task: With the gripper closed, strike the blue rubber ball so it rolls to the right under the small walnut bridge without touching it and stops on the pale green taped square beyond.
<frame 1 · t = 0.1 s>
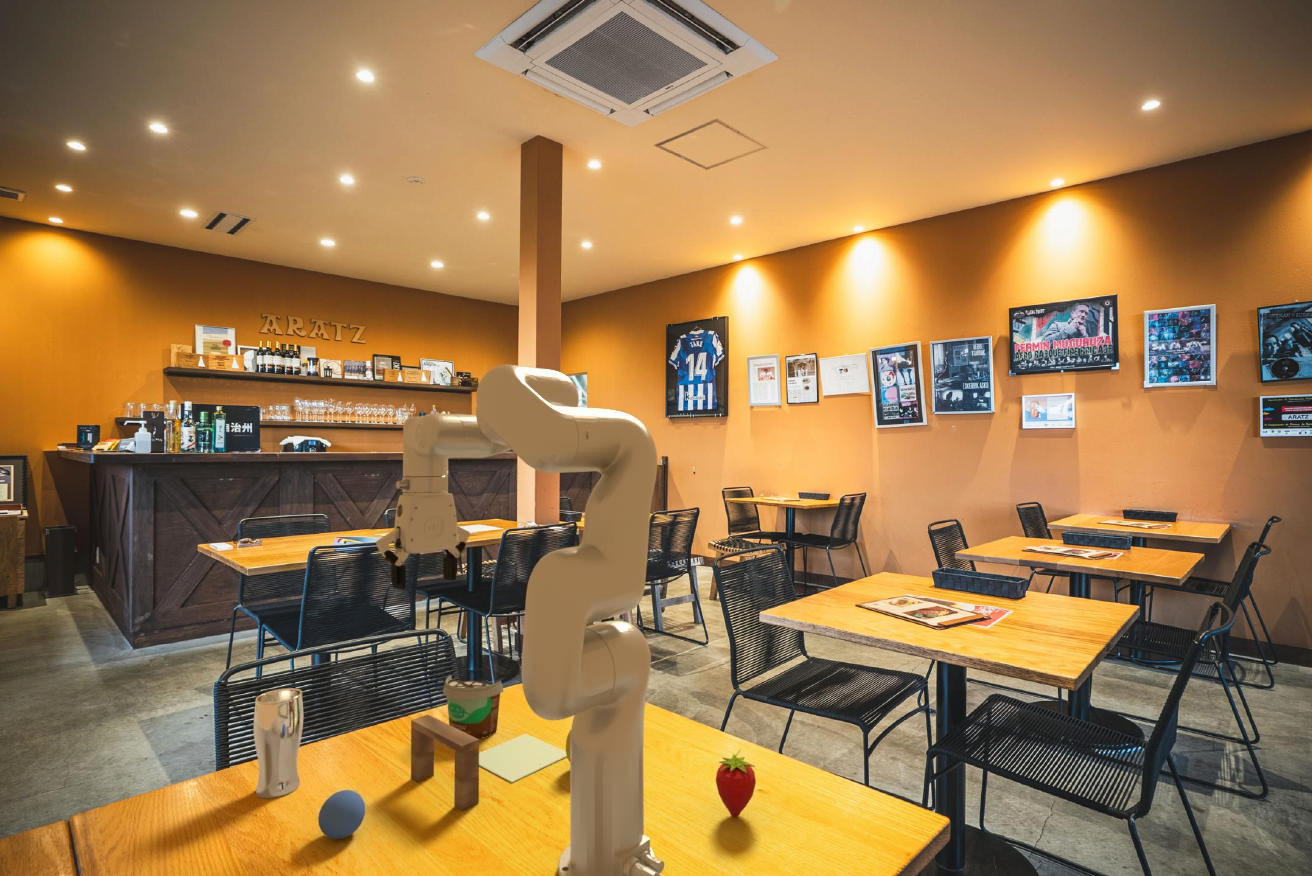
hand: (425, 583, 114), 31 cm above the table, tool pointing down, fingers open, 9 cm apart
lemon: (582, 770, 110), on the table
metal pint tumbler: (278, 790, 104), on the table
ball: (342, 813, 91), on the table
strawberry: (736, 817, 96), on the table
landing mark: (519, 756, 115), on the table
food container: (466, 736, 124), on the table
bridge: (443, 790, 104), on the table
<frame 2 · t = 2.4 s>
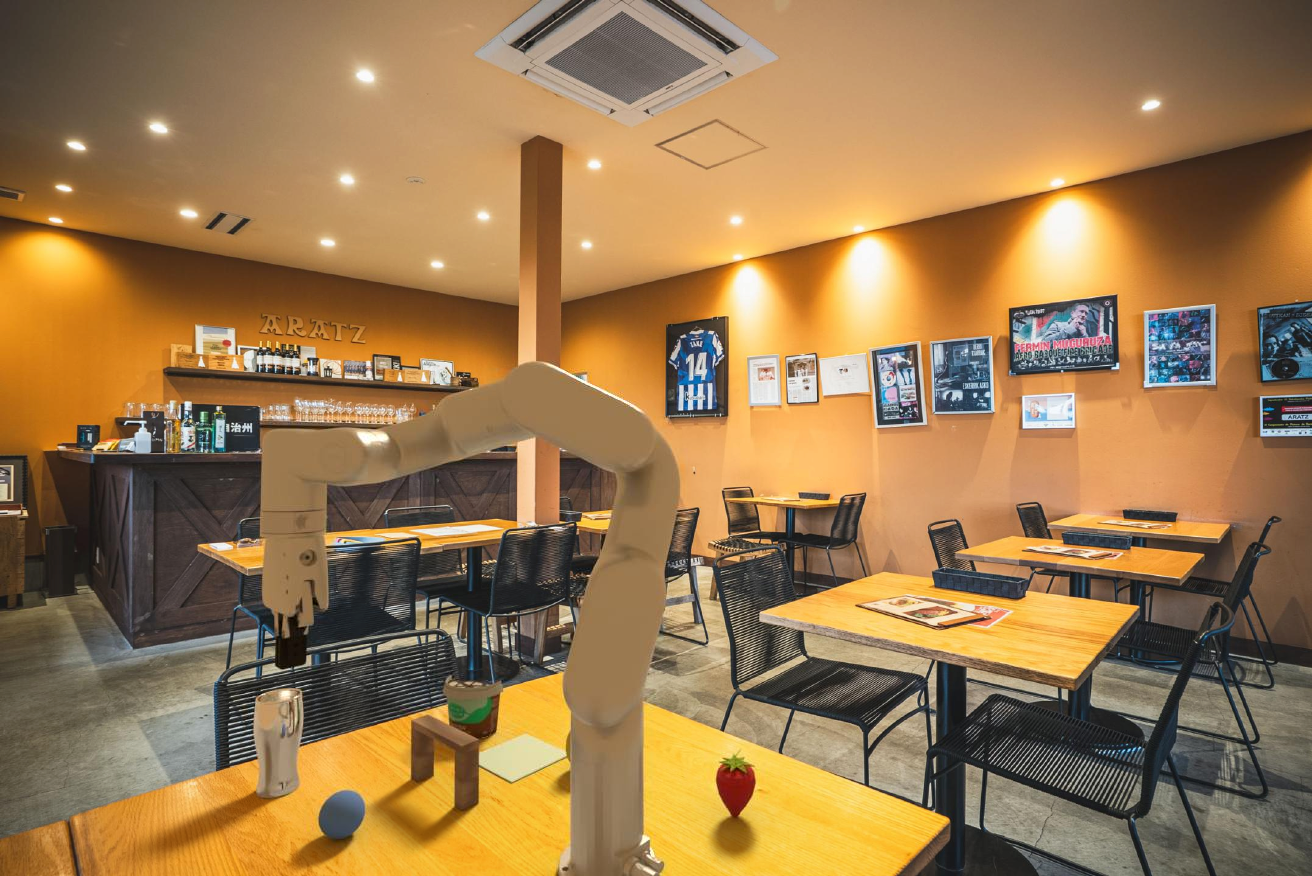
hand: (290, 665, 83), 27 cm above the table, tool pointing down, fingers closed
nothing on the table moved.
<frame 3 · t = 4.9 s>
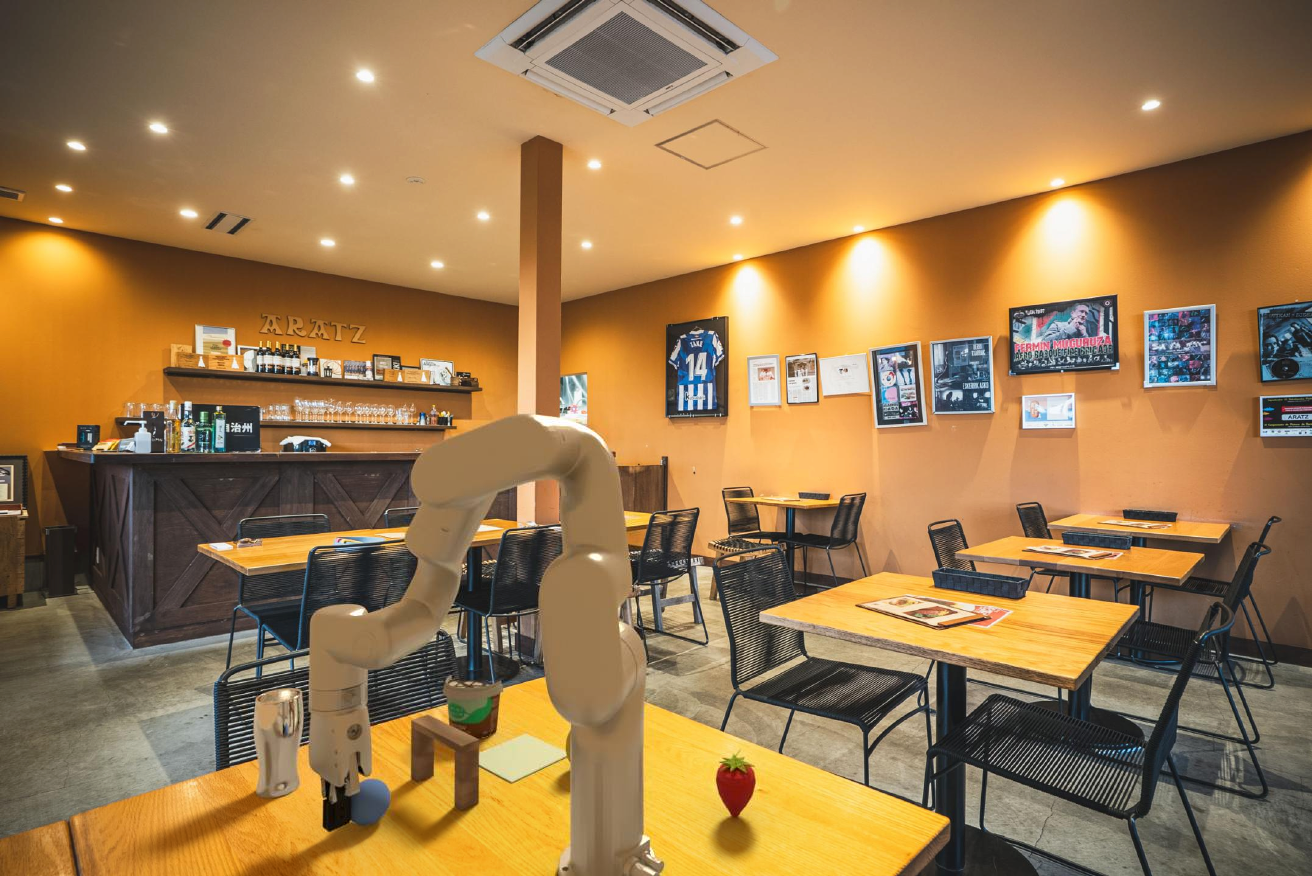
hand: (336, 825, 91), 2 cm above the table, tool pointing down, fingers closed
ball: (368, 801, 95), on the table
everything else where it was.
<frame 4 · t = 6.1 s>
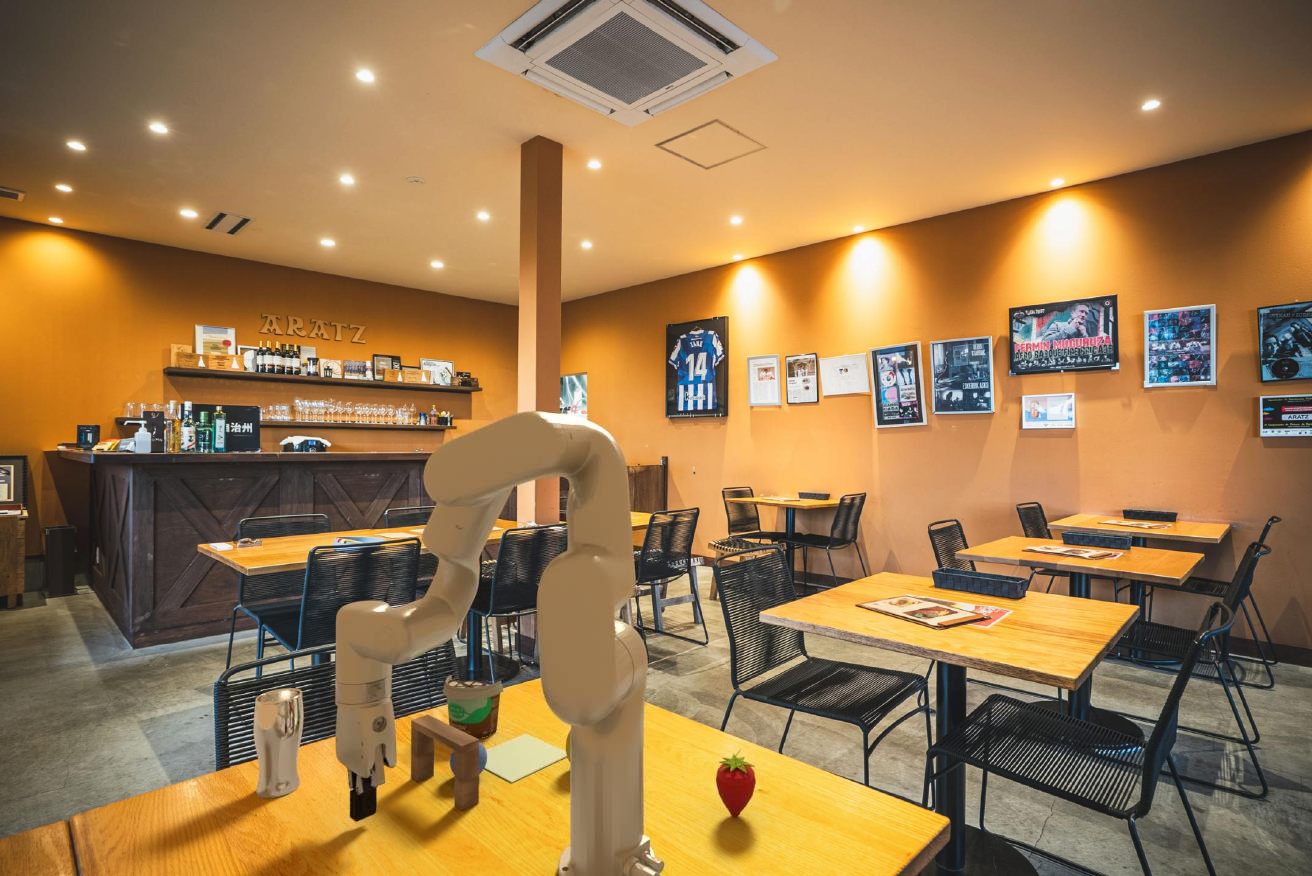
hand: (363, 815, 94), 2 cm above the table, tool pointing down, fingers closed
ball: (468, 759, 108), on the table
everything else where it was.
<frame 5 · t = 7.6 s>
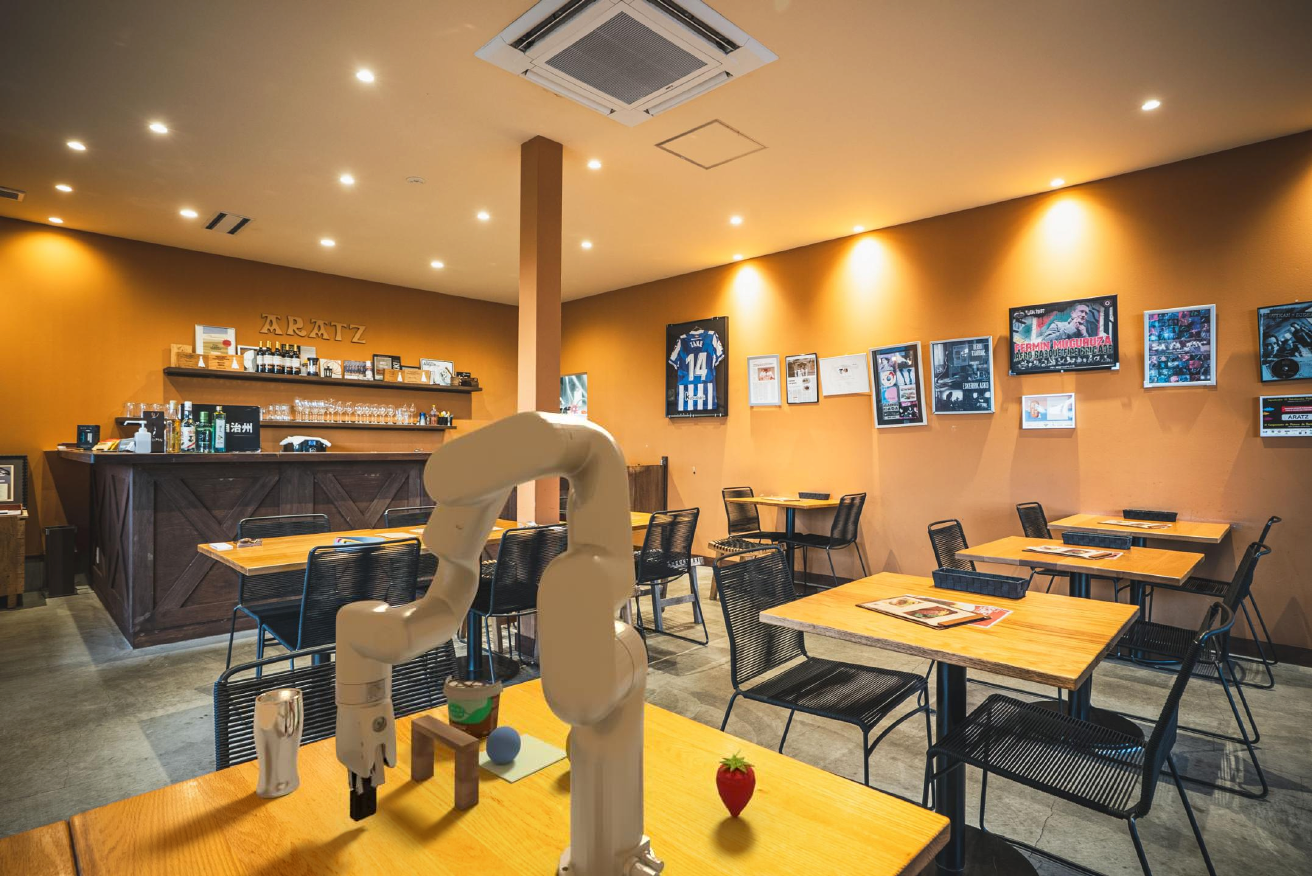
hand: (363, 815, 94), 2 cm above the table, tool pointing down, fingers closed
ball: (503, 744, 113), on the table
everything else where it was.
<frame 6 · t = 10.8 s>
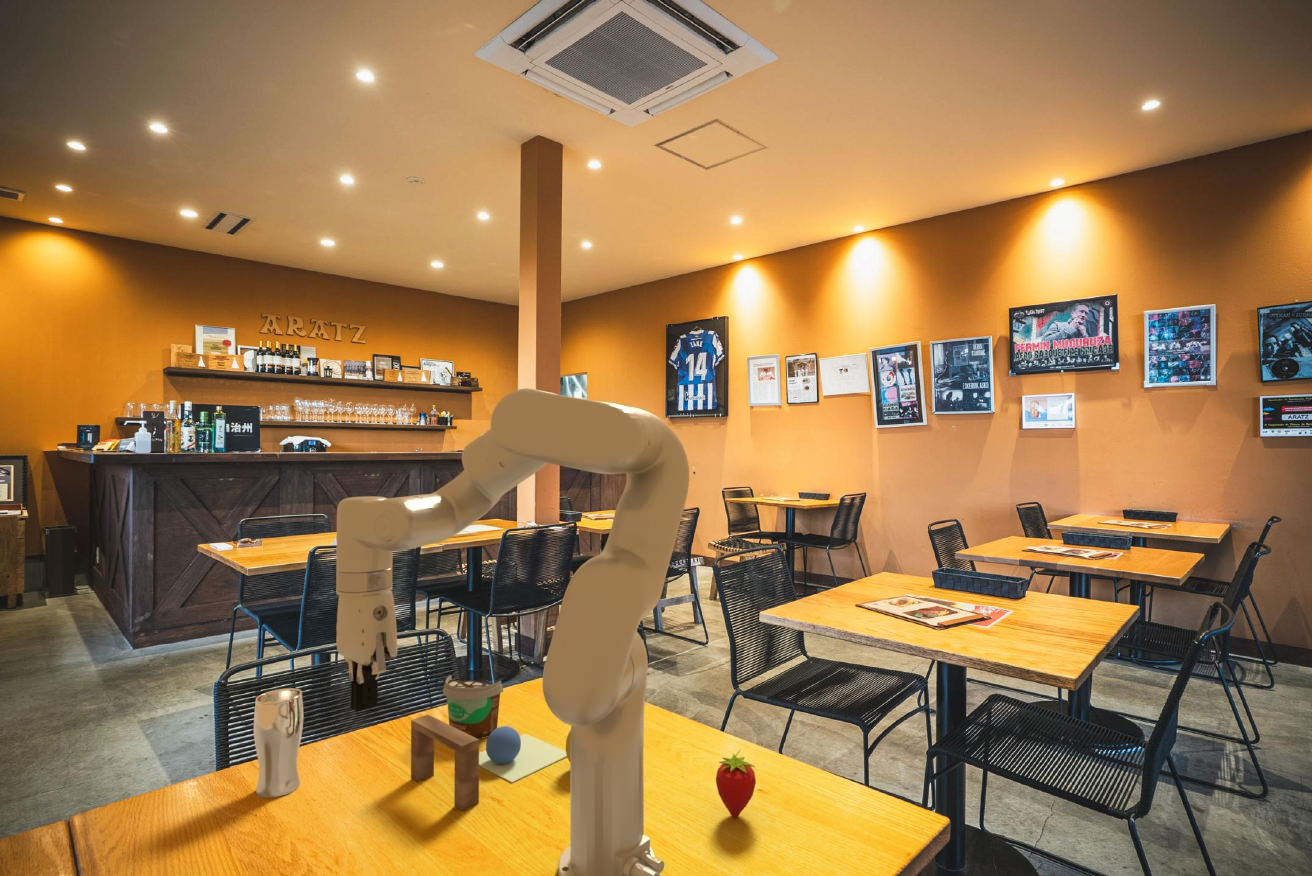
hand: (363, 707, 94), 17 cm above the table, tool pointing down, fingers closed
nothing on the table moved.
at the end: ball 3.1 cm from the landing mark (horizontally); ball never touched bridge; ball at rest at the end (0.0 cm/s) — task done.
